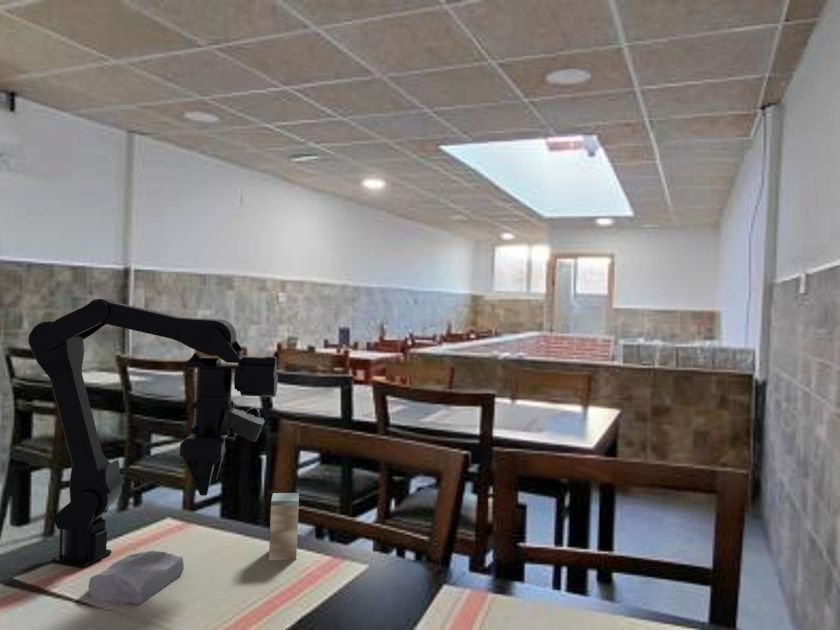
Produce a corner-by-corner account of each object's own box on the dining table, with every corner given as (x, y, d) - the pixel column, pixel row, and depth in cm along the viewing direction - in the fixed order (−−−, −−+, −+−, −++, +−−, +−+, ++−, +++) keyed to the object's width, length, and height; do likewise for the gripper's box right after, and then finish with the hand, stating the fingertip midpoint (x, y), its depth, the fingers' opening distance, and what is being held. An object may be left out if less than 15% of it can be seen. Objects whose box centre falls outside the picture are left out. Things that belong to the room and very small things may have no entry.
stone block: (81, 612, 92) (143, 607, 90) (77, 578, 93) (139, 572, 91) (134, 580, 104) (190, 576, 102) (130, 550, 104) (186, 545, 102)
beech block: (268, 560, 109) (271, 501, 108) (270, 550, 113) (272, 493, 113) (296, 559, 109) (298, 500, 109) (296, 549, 114) (299, 493, 114)
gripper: (256, 405, 100) (251, 505, 100) (268, 388, 118) (263, 473, 119) (181, 402, 98) (176, 504, 99) (205, 386, 117) (200, 472, 117)
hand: (208, 487), depth 108 cm, fingers open, 8 cm apart
